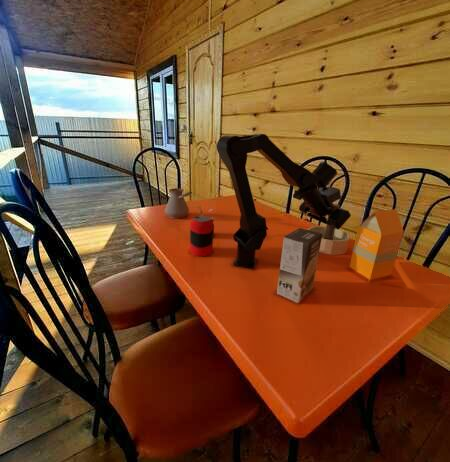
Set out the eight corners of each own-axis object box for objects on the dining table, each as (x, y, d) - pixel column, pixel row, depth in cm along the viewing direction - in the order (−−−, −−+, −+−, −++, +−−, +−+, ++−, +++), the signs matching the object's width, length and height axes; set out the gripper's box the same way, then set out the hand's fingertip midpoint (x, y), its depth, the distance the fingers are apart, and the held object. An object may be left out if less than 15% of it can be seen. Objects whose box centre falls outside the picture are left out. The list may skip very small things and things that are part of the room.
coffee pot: (161, 214, 124) (159, 183, 119) (183, 211, 130) (182, 182, 125) (179, 228, 107) (179, 193, 102) (203, 223, 113) (204, 190, 108)
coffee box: (299, 304, 62) (308, 244, 57) (276, 293, 66) (282, 236, 60) (313, 288, 69) (323, 233, 63) (291, 279, 72) (298, 226, 67)
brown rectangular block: (335, 249, 91) (343, 207, 85) (320, 247, 92) (327, 205, 87) (334, 244, 95) (342, 204, 90) (320, 241, 96) (326, 202, 91)
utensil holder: (210, 239, 97) (211, 209, 93) (195, 236, 99) (195, 207, 95) (216, 234, 102) (216, 205, 98) (201, 231, 104) (201, 203, 100)
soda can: (199, 245, 92) (199, 213, 88) (216, 250, 88) (217, 217, 84) (185, 252, 86) (185, 219, 82) (204, 259, 82) (204, 224, 78)
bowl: (349, 260, 85) (352, 243, 83) (305, 252, 89) (307, 237, 87) (344, 243, 98) (347, 229, 96) (306, 237, 102) (308, 223, 100)
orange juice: (348, 268, 79) (362, 207, 73) (369, 264, 82) (384, 205, 76) (369, 282, 72) (386, 215, 66) (391, 277, 75) (410, 213, 69)
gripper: (352, 185, 76) (370, 217, 83) (310, 175, 92) (328, 202, 99) (327, 213, 75) (348, 242, 83) (289, 197, 91) (309, 223, 99)
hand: (332, 225), depth 91 cm, fingers open, 6 cm apart
